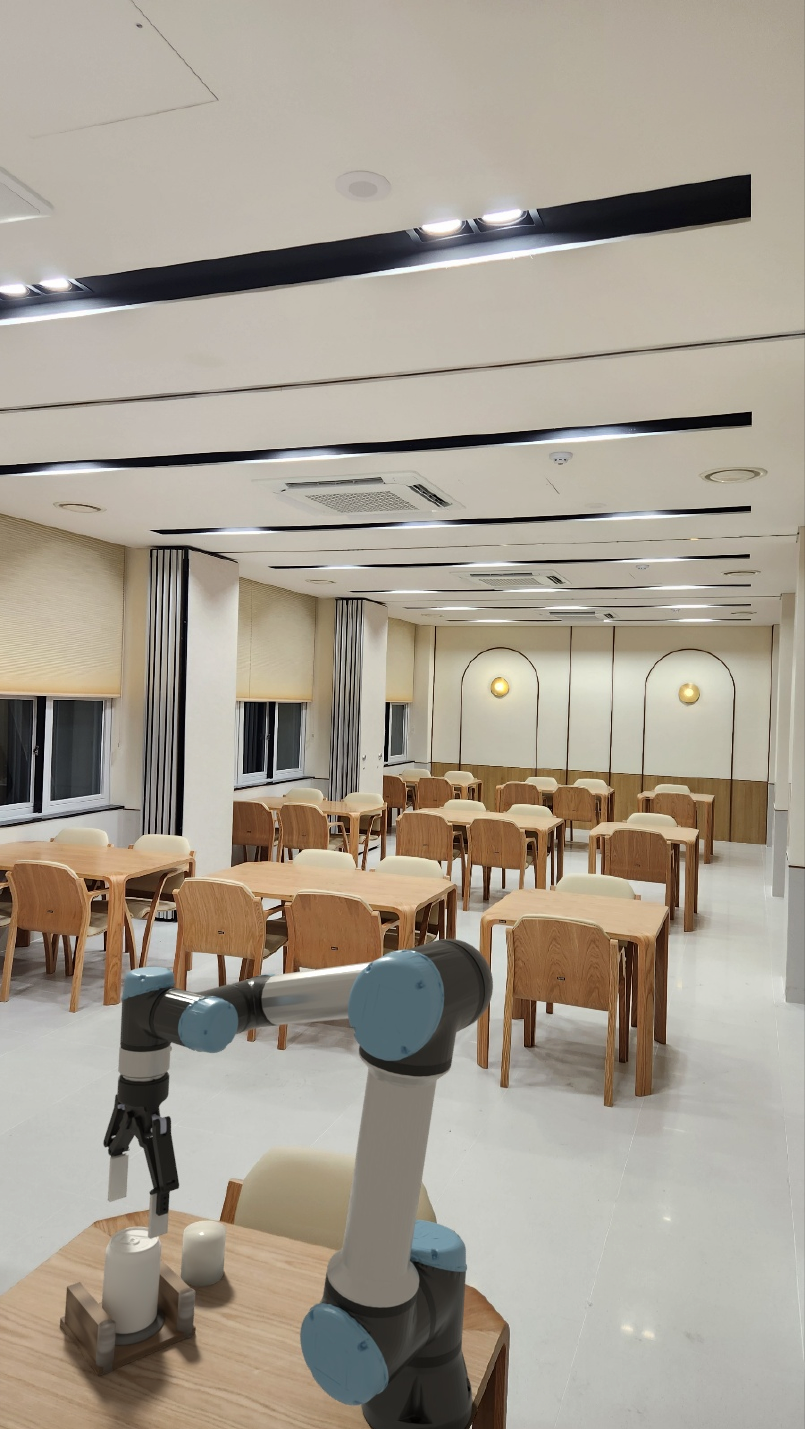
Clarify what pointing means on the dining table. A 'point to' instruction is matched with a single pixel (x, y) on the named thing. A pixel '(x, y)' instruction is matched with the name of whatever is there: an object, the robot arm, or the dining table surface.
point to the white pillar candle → (203, 1253)
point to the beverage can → (131, 1279)
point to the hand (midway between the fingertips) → (136, 1216)
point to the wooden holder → (114, 1349)
